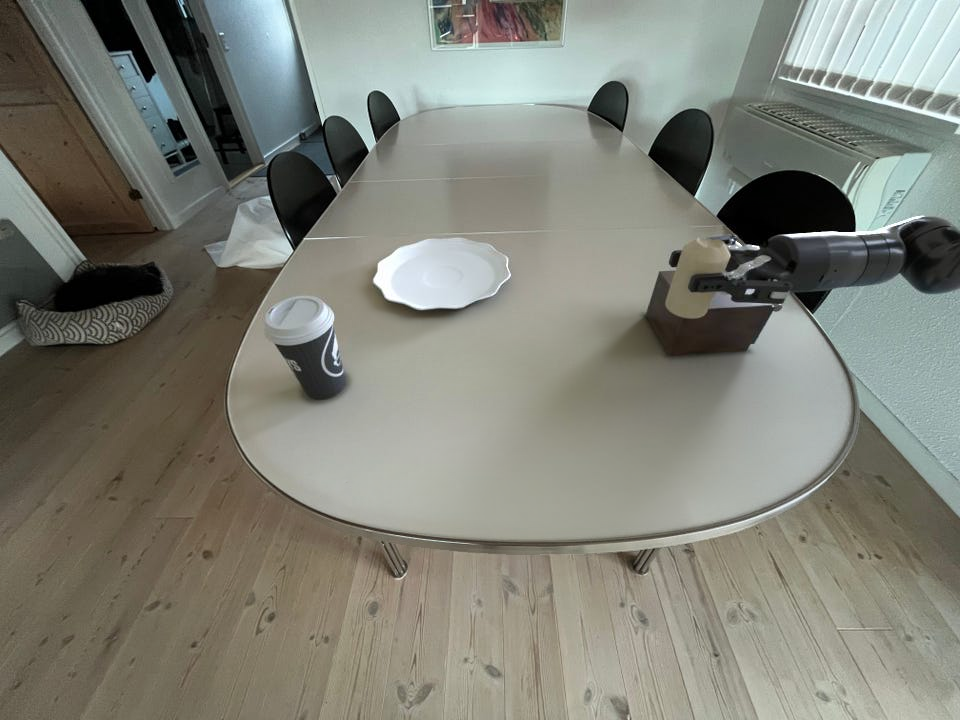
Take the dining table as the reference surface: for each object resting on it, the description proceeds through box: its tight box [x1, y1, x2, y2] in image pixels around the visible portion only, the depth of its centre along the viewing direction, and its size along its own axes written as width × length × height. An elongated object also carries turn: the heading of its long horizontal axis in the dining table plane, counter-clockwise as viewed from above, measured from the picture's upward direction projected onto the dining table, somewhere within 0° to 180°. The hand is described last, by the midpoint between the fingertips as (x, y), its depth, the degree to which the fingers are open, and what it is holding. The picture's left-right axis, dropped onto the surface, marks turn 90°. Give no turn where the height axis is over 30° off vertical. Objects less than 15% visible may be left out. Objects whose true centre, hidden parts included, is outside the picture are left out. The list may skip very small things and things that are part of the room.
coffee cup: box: [263, 295, 347, 401], centre depth 62 cm, size 10×10×15 cm
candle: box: [665, 237, 730, 318], centre depth 53 cm, size 6×6×10 cm
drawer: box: [751, 304, 783, 345], centre depth 71 cm, size 16×10×8 cm, turn 93°
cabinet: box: [645, 269, 773, 356], centre depth 71 cm, size 14×12×10 cm
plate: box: [372, 237, 511, 312], centre depth 89 cm, size 29×29×2 cm
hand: (681, 271), depth 53 cm, fingers closed on candle, 5 cm apart
